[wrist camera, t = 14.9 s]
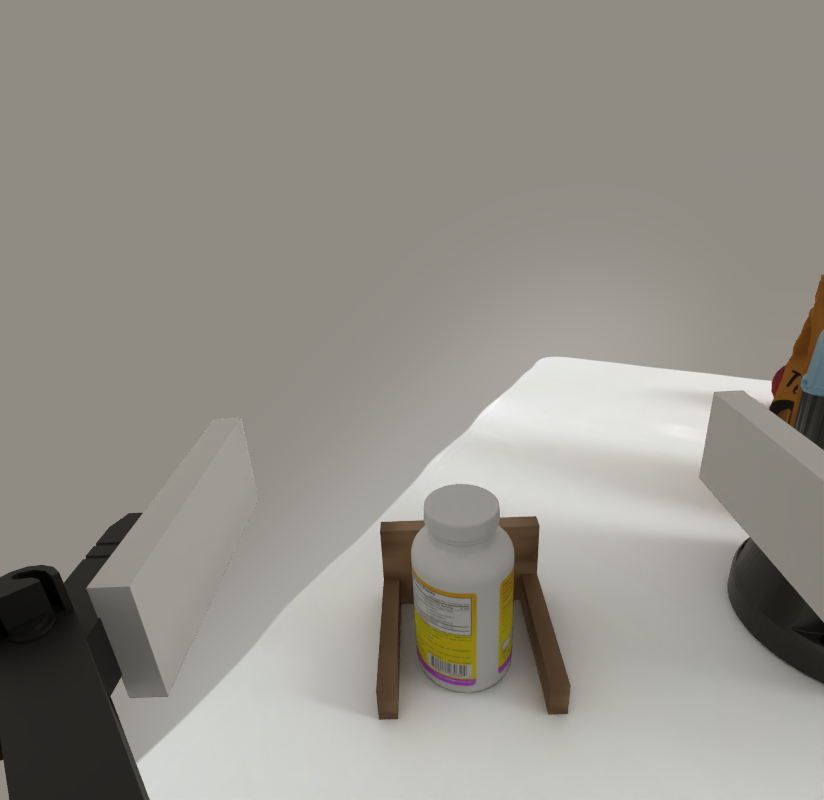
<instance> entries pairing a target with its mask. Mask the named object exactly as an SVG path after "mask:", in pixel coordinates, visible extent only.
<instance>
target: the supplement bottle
mask: <svg viewBox="0 0 824 800" xmlns="http://www.w3.org/2000/svg"><path fill="white" fill-rule="evenodd" d="M499 522H500V509H499V502H498V500H497V498H496V497H495V496H494V495H493V494H492V493H491V492H489V491H488V490H486V489H484V488H481V487H478V486H474V485H467V484H455V485H448V486H444V487H441V488H439V489H437V490H435V491H433V492H432V493H431V494H429V495H428V497H427V498H426V500H425V503H424V523H425V526H424V527H423V528H422V529H421V530H420V531H419V532H418V533H417V535H416V536H415V538H414V541H413V544H412V548H411V563H412V576H413V593H414V610H415V627H416V642H417V653H418V659H419V662H420V665H421V667H422V668H423V670H424V671H425V673H426V674H427V675H428V676H429V678H430V679H432V680H433V681H434V682H435V683H437V684H438V685H440V686H442V687H444V688H446V689H449V690H452V691H457V692H476V691H480V690H483V689H486V688H488V687H490V686H492V685H494V684H495V683H497V682H498V681H499V680H500V679H501V678H502V677H503V676H504V675H505V673H506V671H507V670H508V667H509V665H510V661H511V653H512V624H513V586H514V547H513V544H512V541H511V539H510V537H509V536H508V534H507V533H506V532H505V531H504V530H503V529H502V528H501V527H500V526H499Z"/></svg>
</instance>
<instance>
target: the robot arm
mask: <svg viewBox="0 0 824 800" xmlns="http://www.w3.org/2000/svg"><path fill="white" fill-rule="evenodd" d="M800 386H801V387H802V390H803V391H802V395H801V399H800V403H799V407H798V411H797V415H796V419H795V423H794V427H791V426H790V425H789V424H787V423H786V422H785V421H783V420H782V419H781V418H779V417H778V416H777V415H775V414H774V413H772V412H771V411H770V410H768V409H767V408H766V407H764V406H763V405H762V404H760V403H759V402H758V401H756V400H755V399H753V398H752V397H751V396H749V395H748V394H747V393H745V392H744V391H743V390H742V391H723V392H714V395H713V401H712V407H711V413H710V418H709V424H708V430H707V435H706V441H705V447H704V453H703V458H702V464H701V470H700V475H699V478H700V479H701V481H702V482H703V483H704V484H705V485H706V486H707V488H708V489H709V490H710V491H711V492H712V493H713V494H714V496H715V497H716V498H717V499H718V500H719V501H720V503H721V504H722V505H723V506H724V507H725V508H726V510H727V511H728V512H729V513H730V514H731V515H732V517H733V518H734V519H735V520H736V521H737V522H738V523H739V525H740V526H741V527H742V528H743V529H744V530H745V532H746V533H747V534H748V535H749V536H750V537H749V538H748V539H747V540H745V541H744V542H743V544H742V545H741V546H740V547H739V548H738V550H737V552H736V554H735V556H734V558H733V561H732V565H731V570H730V574H729V578H728V594H729V598H730V601H731V604H732V606H733V608H734V610H735V612H736V613H737V615H738V617H739V618H740V620H741V621H742V622H743V623H744V625H745V626H746V627H747V628H748V629H749V631H750V632H751V633H752V634H753V635H754V636H755V637H756V638H757V639H758V640H759V641H761V642H762V643H763V644H764V645H765V646H766V647H767V648H769V649H770V650H771V651H772V652H774V653H775V654H776V655H778V656H779V657H780V658H782V659H783V660H785V661H786V662H788V663H789V664H791V665H792V666H794V667H796V668H797V669H799V670H801V671H802V672H804V673H806V674H808V675H810V676H811V677H813V678H815V679H817V680H819V681H821V682H823V683H824V329H823V331H822V332H821V334H820V336H819V338H818V341H817V344H816V347H815V350H814V353H813V356H812V359H811V362H810V365H809V368H808V371H807V373H806V374H805V375H804V376H803V378H802V380H801V385H800ZM257 501H258V496H257V491H256V486H255V482H254V477H253V472H252V467H251V463H250V458H249V453H248V448H247V444H246V439H245V434H244V429H243V425H242V420H241V417H239V418H223V419H214V420H213V421H212V422H211V424H210V425H209V426H208V428H207V429H206V430H205V432H204V433H203V434H202V436H201V437H200V438H199V440H198V441H197V442H196V444H195V445H194V446H193V448H192V449H191V450H190V452H189V453H188V454H187V456H186V457H185V458H184V460H183V461H182V462H181V464H180V465H179V466H178V468H177V469H176V470H175V471H174V473H173V474H172V475H171V477H170V478H169V479H168V481H167V482H166V483H165V485H164V486H163V487H162V489H161V490H160V491H159V493H158V494H157V495H156V497H155V498H154V499H153V501H152V502H151V503H150V505H149V506H148V507H147V508H146V510H145V511H144V512H143V513H129V514H127V515H126V516H125V517H124V518H122V519H120V520H119V521H118V522H116V523H115V524H113V525H112V526H111V527H109V528H108V530H107V531H106V532H105V534H104V535H103V536H102V537H101V538H100V539H99V541H98V542H97V543H96V546H94V547H93V548H92V549H91V550H90V552H89V553H88V554H87V555H86V559H84V560H82V561H81V563H80V564H79V565H78V566H77V568H76V569H75V570H74V571H73V572H72V574H71V575H70V576H69V577H68V579H67V580H66V581H65V582H64V583H63V581H62V578H61V576H60V574H59V572H58V571H57V570H56V569H55V568H54V567H51V566H45V565H39V566H29V567H25V568H22V569H19V570H16V571H13V572H10V573H8V574H6V575H4V576H2V577H0V760H3V759H4V766H5V773H6V780H7V786H8V793H9V800H149V797H148V794H147V792H146V789H145V786H144V784H143V781H142V778H141V776H140V773H139V770H138V768H137V765H136V762H135V760H134V757H133V754H132V752H131V749H130V746H129V744H128V741H127V738H126V736H125V733H124V731H123V728H122V725H121V722H120V720H119V717H118V714H117V712H116V709H115V707H114V704H113V702H112V699H111V697H110V696H111V694H112V692H113V690H114V689H115V687H116V685H117V683H118V682H119V680H120V678H122V680H123V683H124V685H125V688H126V690H127V693H128V696H129V698H144V697H168V696H169V694H170V692H171V690H172V688H173V685H174V683H175V681H176V679H177V677H178V674H179V672H180V670H181V668H182V666H183V663H184V661H185V659H186V657H187V655H188V652H189V650H190V648H191V646H192V644H193V642H194V639H195V637H196V635H197V633H198V631H199V628H200V626H201V624H202V622H203V619H204V617H205V615H206V613H207V611H208V609H209V606H210V604H211V602H212V600H213V598H214V595H215V593H216V591H217V589H218V586H219V584H220V582H221V580H222V578H223V576H224V573H225V571H226V569H227V567H228V564H229V562H230V560H231V558H232V556H233V554H234V551H235V549H236V547H237V545H238V543H239V540H240V538H241V536H242V534H243V531H244V529H245V527H246V525H247V523H248V521H249V518H250V516H251V514H252V512H253V510H254V507H255V505H256V503H257Z"/></svg>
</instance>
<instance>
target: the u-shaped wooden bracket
mask: <svg viewBox="0 0 824 800" xmlns="http://www.w3.org/2000/svg"><path fill="white" fill-rule="evenodd" d="M424 526H425V523H424V521H397V522H381V528H380V535H381V548H382V560H383V572H384V587H383V602H382V616H381V630H380V645H379V659H378V673H377V688H376V694H377V704H378V714H379V719H398V698H399V661H400V624H401V603H414V593H413V576H412V563H411V548H412V544H413V541H414V538H415V536H416V535H417V533H418V532H419V531H420V530H421V529H422V528H423V527H424ZM499 526H500V527H501V528H502V529H503V530H504V531H505V532H506V533H507V534H508V536H509V537H510V539H511V541H512V544H513V547H514V586H513V600H516V599H520V600H521V604H522V609H523V613H524V617H525V621H526V625H527V629H528V633H529V637H530V641H531V645H532V649H533V653H534V657H535V661H536V666H537V670H538V674H539V678H540V682H541V686H542V690H543V694H544V698H545V702H546V706H547V710H548V714H568V704H569V694H570V683H569V679H568V676H567V673H566V669H565V666H564V663H563V659H562V656H561V653H560V649H559V646H558V643H557V639H556V636H555V633H554V629H553V626H552V623H551V620H550V616H549V613H548V610H547V606H546V603H545V600H544V596H543V593H542V590H541V586H540V583H539V580H538V576H537V560H538V542H539V523H538V520H537V518H536V516H535V517H507V518H500V522H499Z"/></svg>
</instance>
